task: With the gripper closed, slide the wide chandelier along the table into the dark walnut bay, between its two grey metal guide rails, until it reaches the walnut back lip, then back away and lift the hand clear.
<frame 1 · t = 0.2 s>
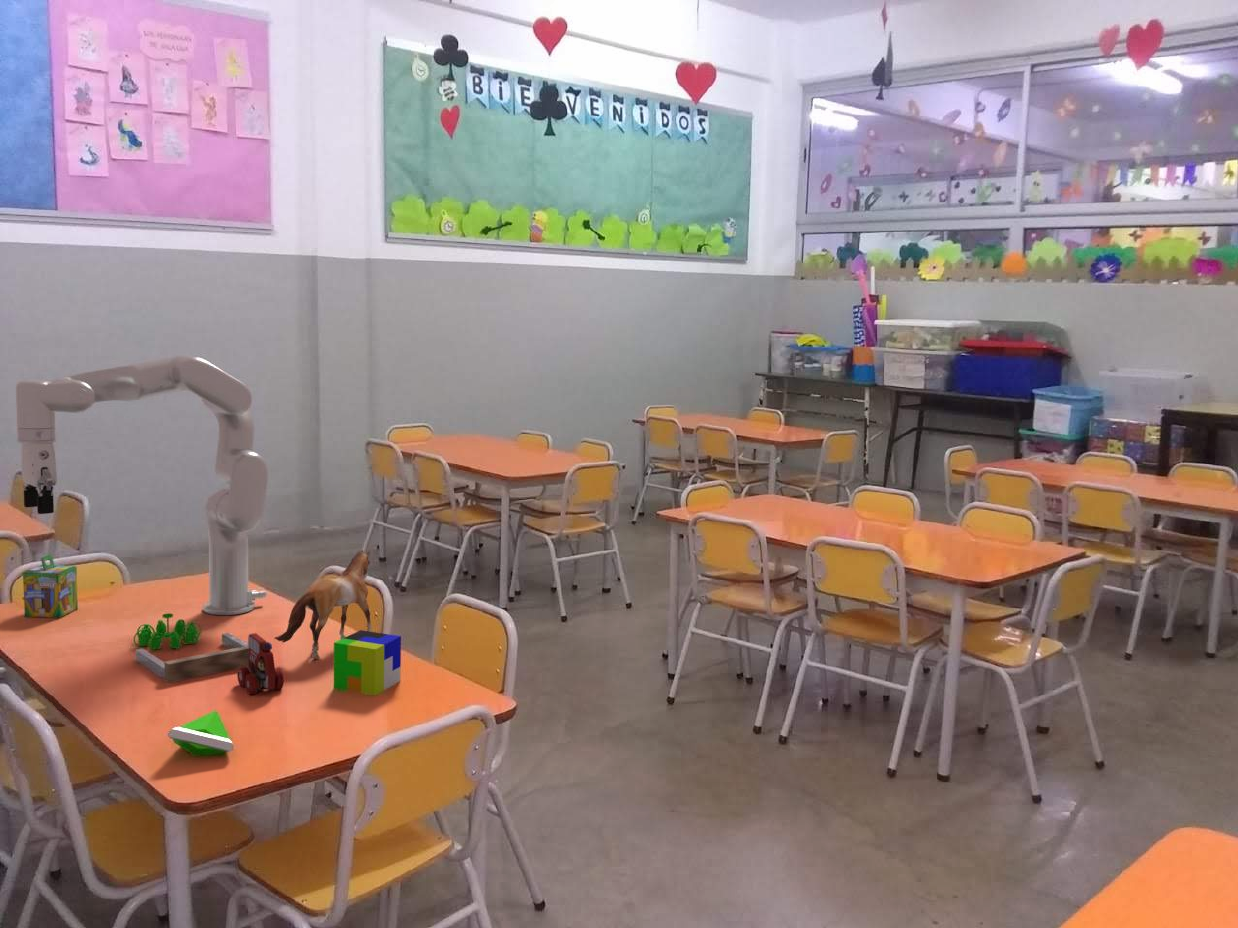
hand: (38, 510, 239), 31 cm above the table, tool pointing down, fingers open, 9 cm apart
puzzle toy: (367, 685, 223), on the table
walnut bay: (200, 661, 233), on the table
chalk box: (51, 613, 264), on the table
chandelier: (168, 644, 245), on the table
horse figurine: (324, 646, 247), on the table
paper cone: (199, 740, 192), on the table
toy fire truck: (260, 688, 219), on the table
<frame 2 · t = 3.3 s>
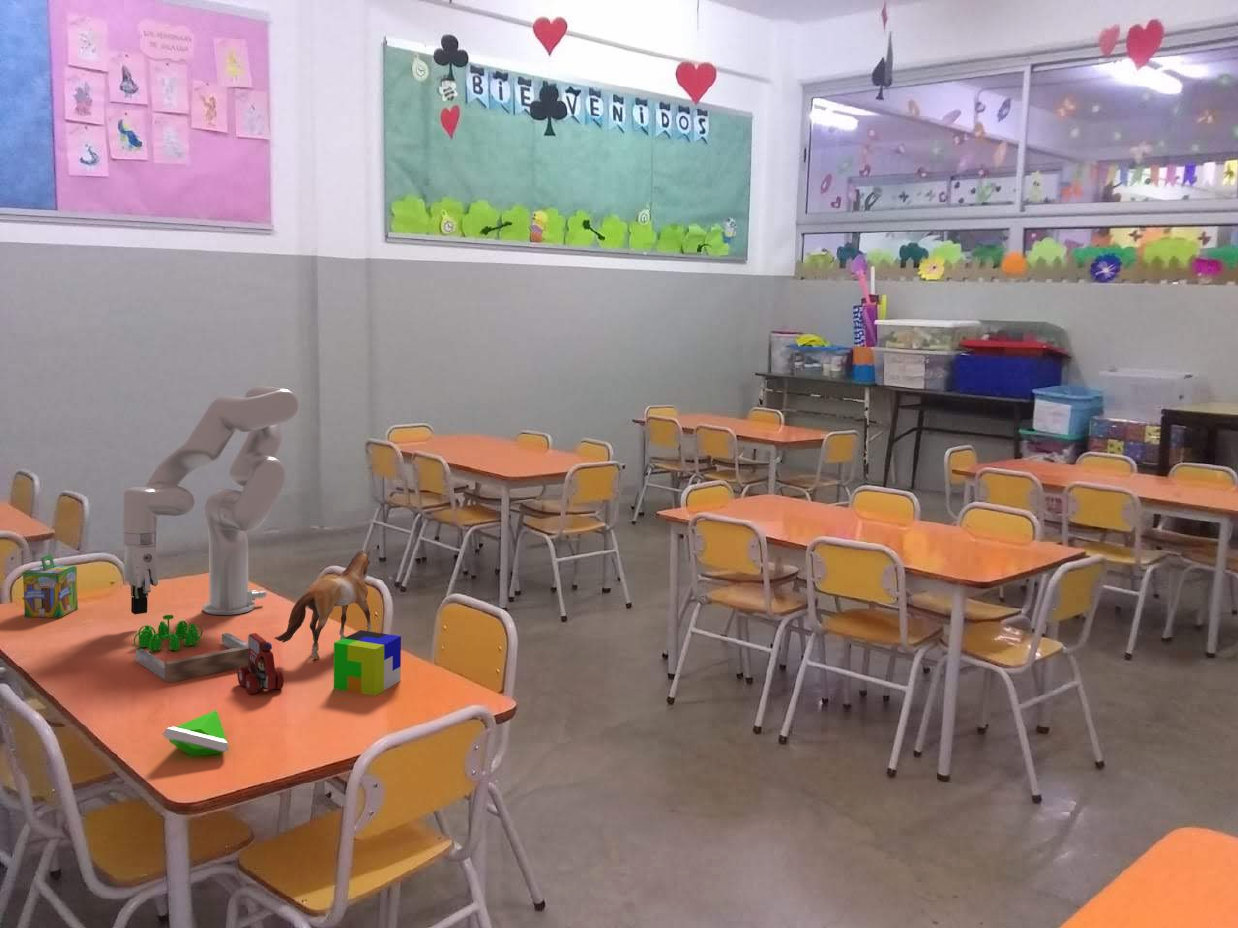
hand: (139, 612, 255), 4 cm above the table, tool pointing down, fingers closed
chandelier: (168, 645, 244), on the table
everything else where it was.
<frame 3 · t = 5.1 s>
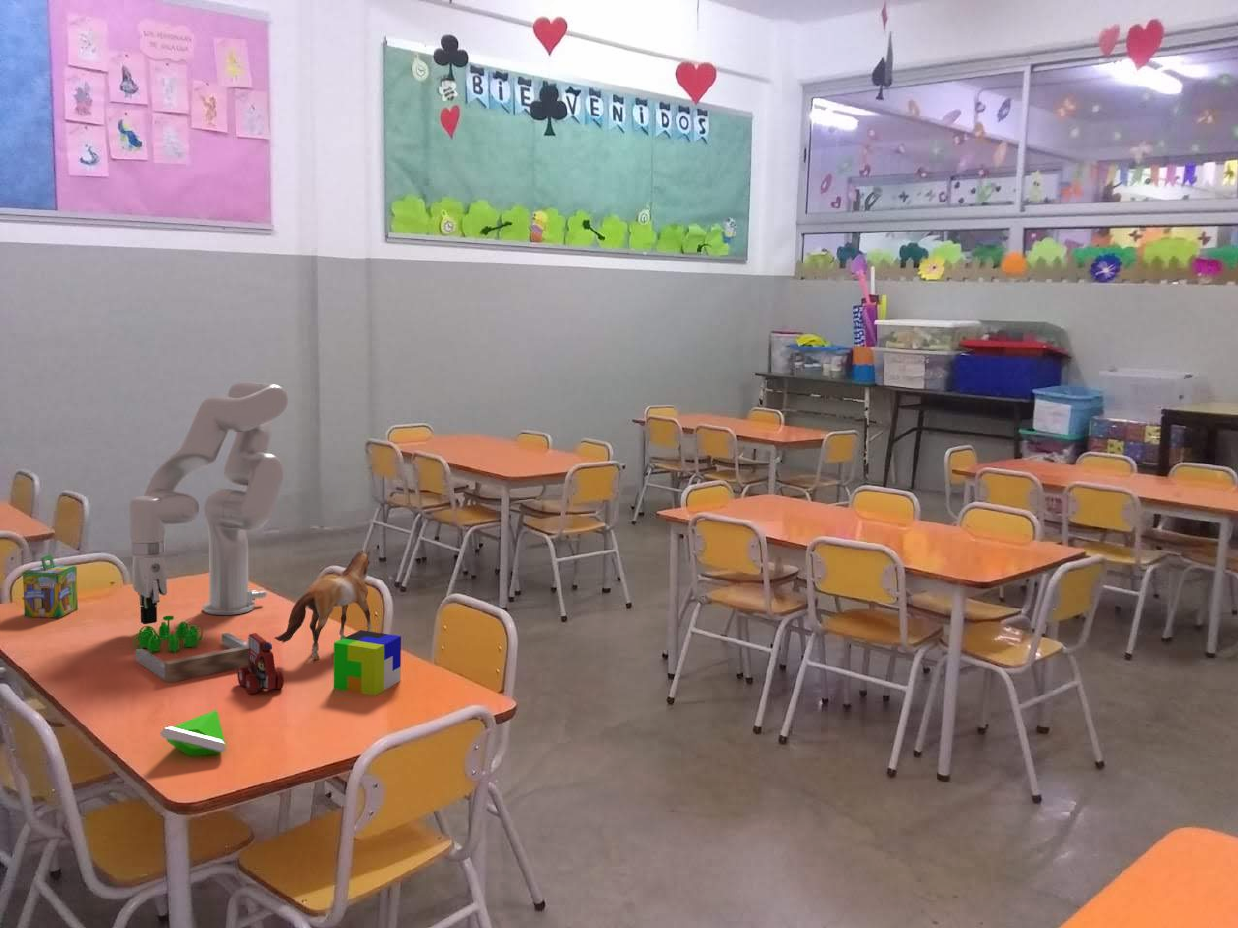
hand: (148, 622, 253), 2 cm above the table, tool pointing down, fingers closed
nothing on the table moved.
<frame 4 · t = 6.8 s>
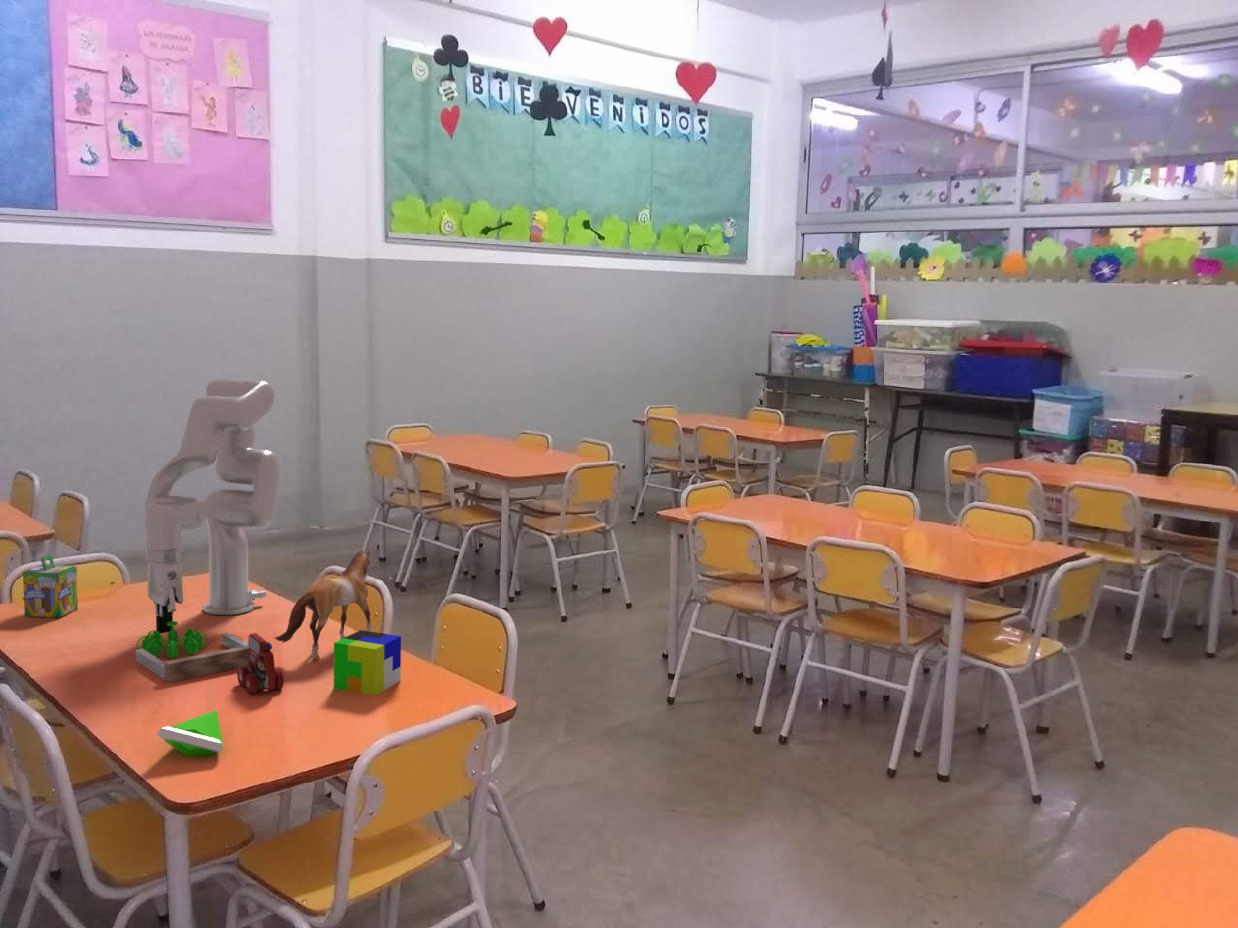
hand: (164, 631, 246), 2 cm above the table, tool pointing down, fingers closed
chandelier: (172, 652, 240), on the table
everything else where it was.
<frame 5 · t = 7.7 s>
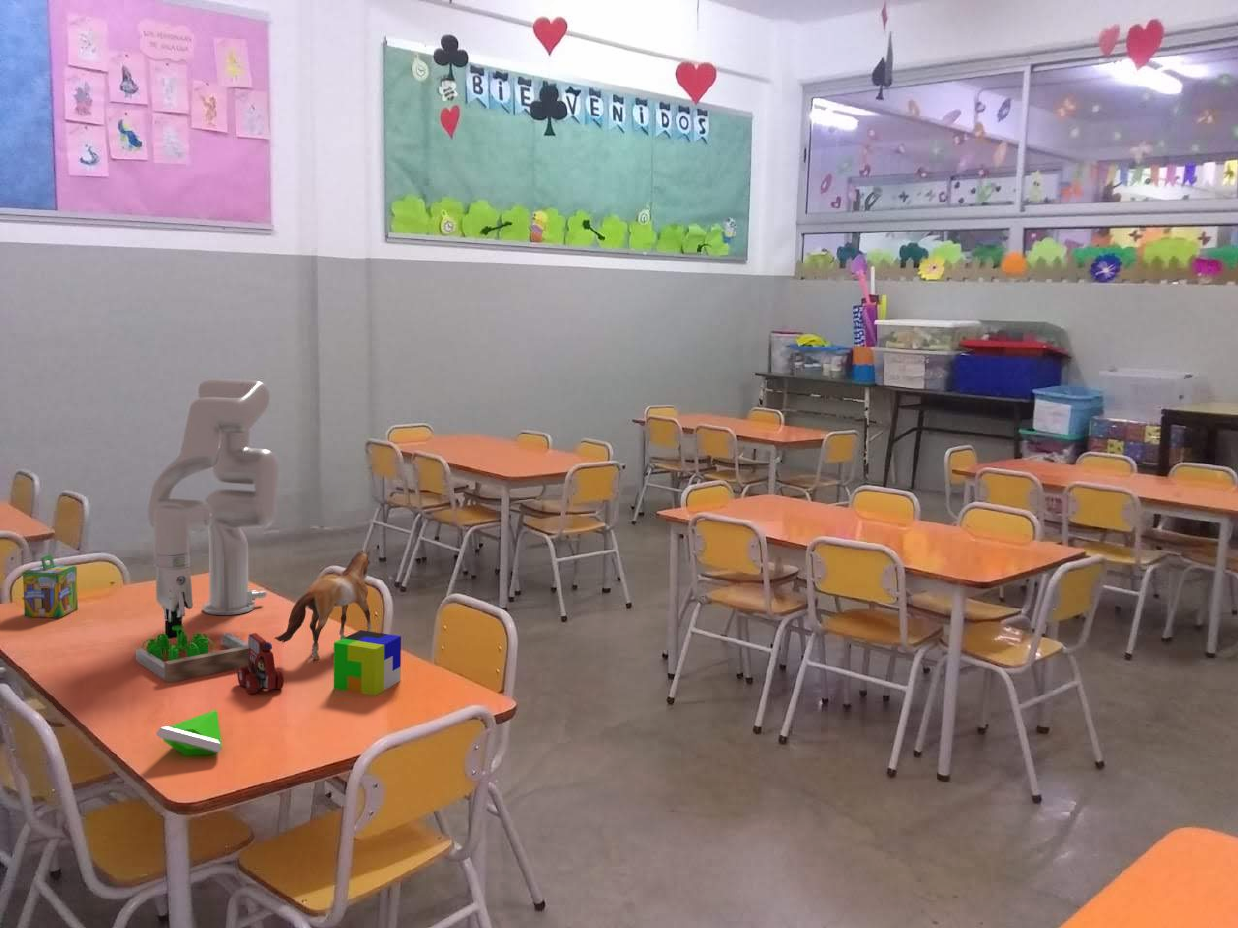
hand: (173, 636, 243), 2 cm above the table, tool pointing down, fingers closed
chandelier: (178, 657, 236), on the table
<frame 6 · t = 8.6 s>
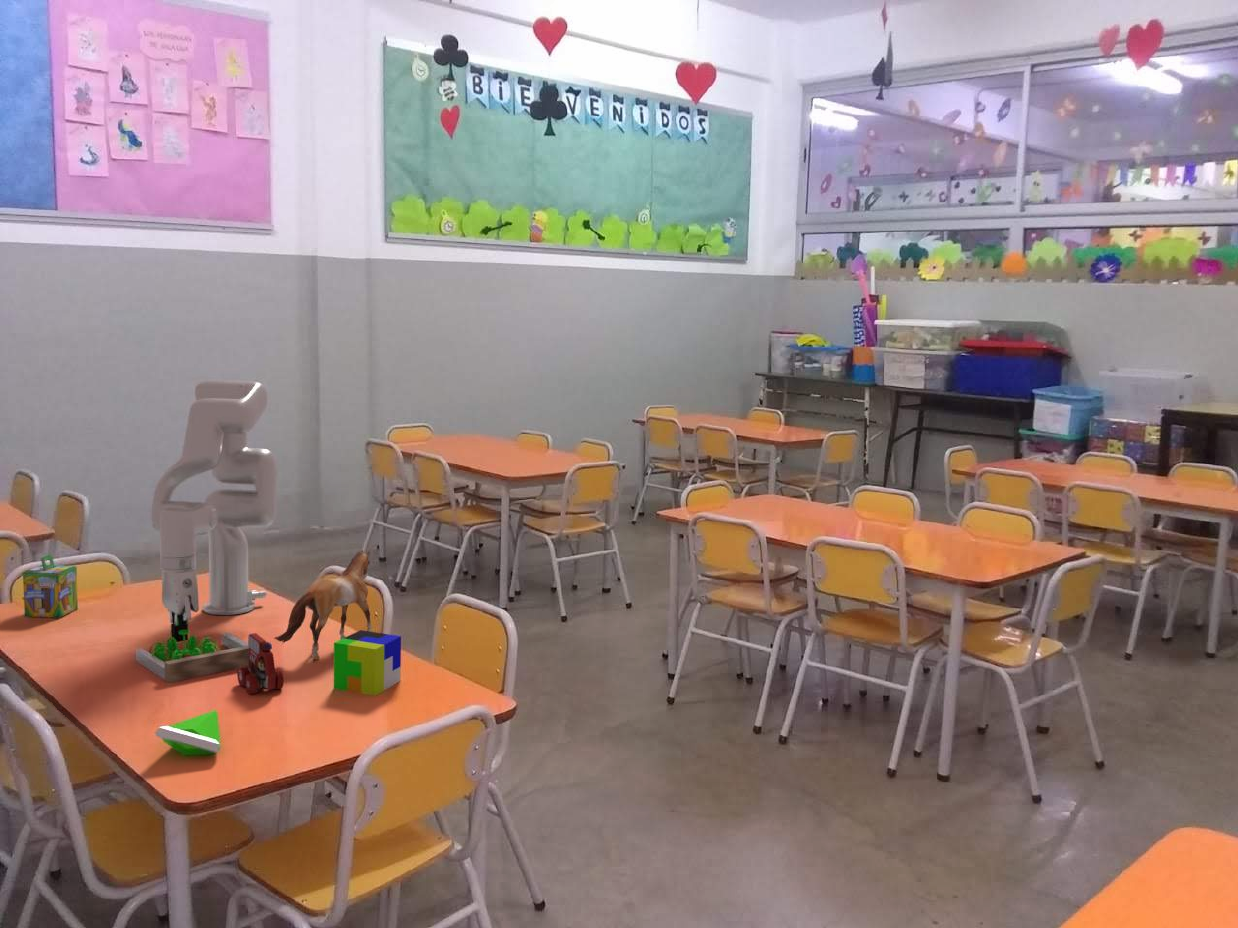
hand: (179, 640, 240), 2 cm above the table, tool pointing down, fingers closed
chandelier: (184, 662, 234), on the table, touching gripper, walnut bay
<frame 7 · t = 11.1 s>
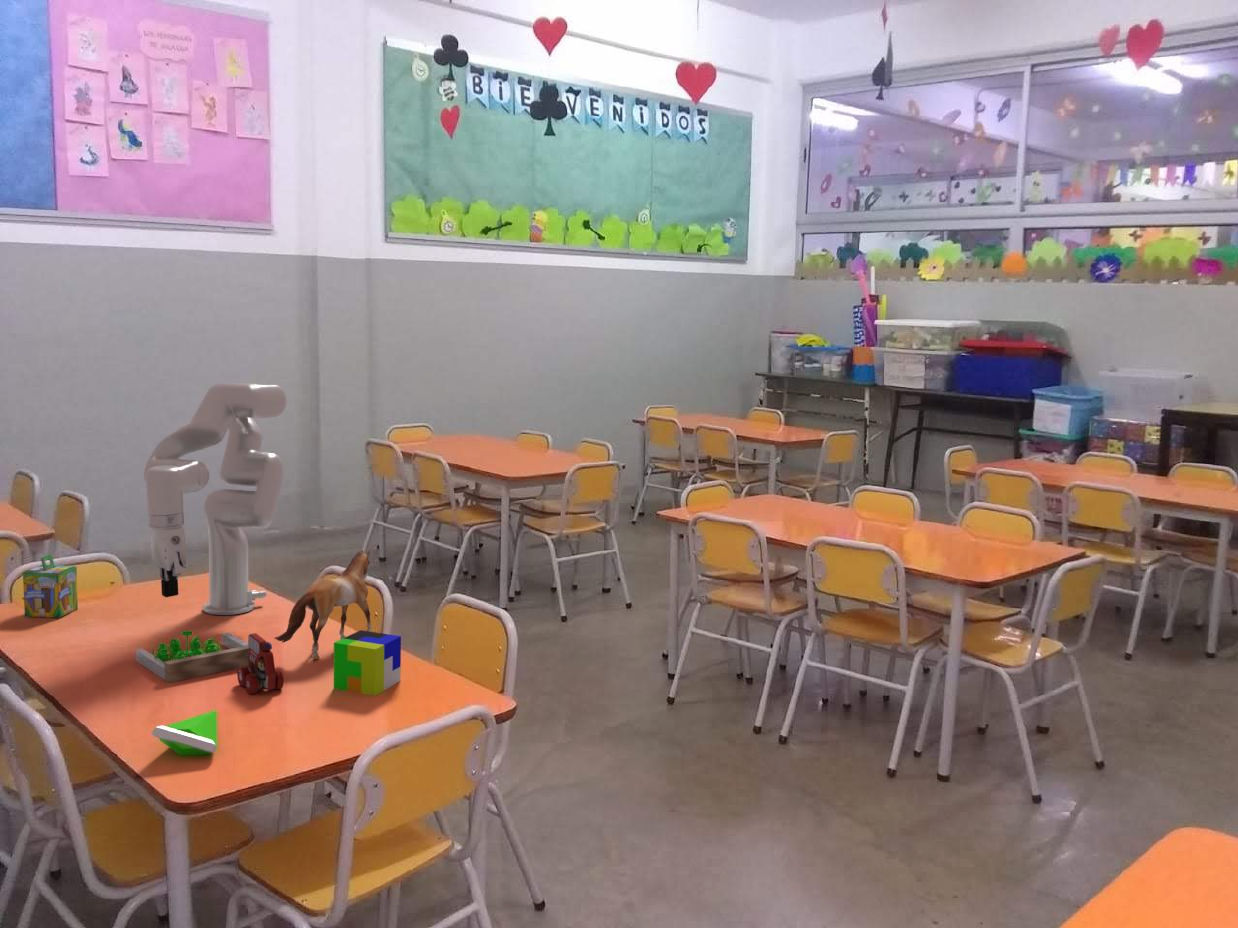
hand: (170, 595, 245), 11 cm above the table, tool pointing down, fingers closed
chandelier: (187, 663, 233), on the table
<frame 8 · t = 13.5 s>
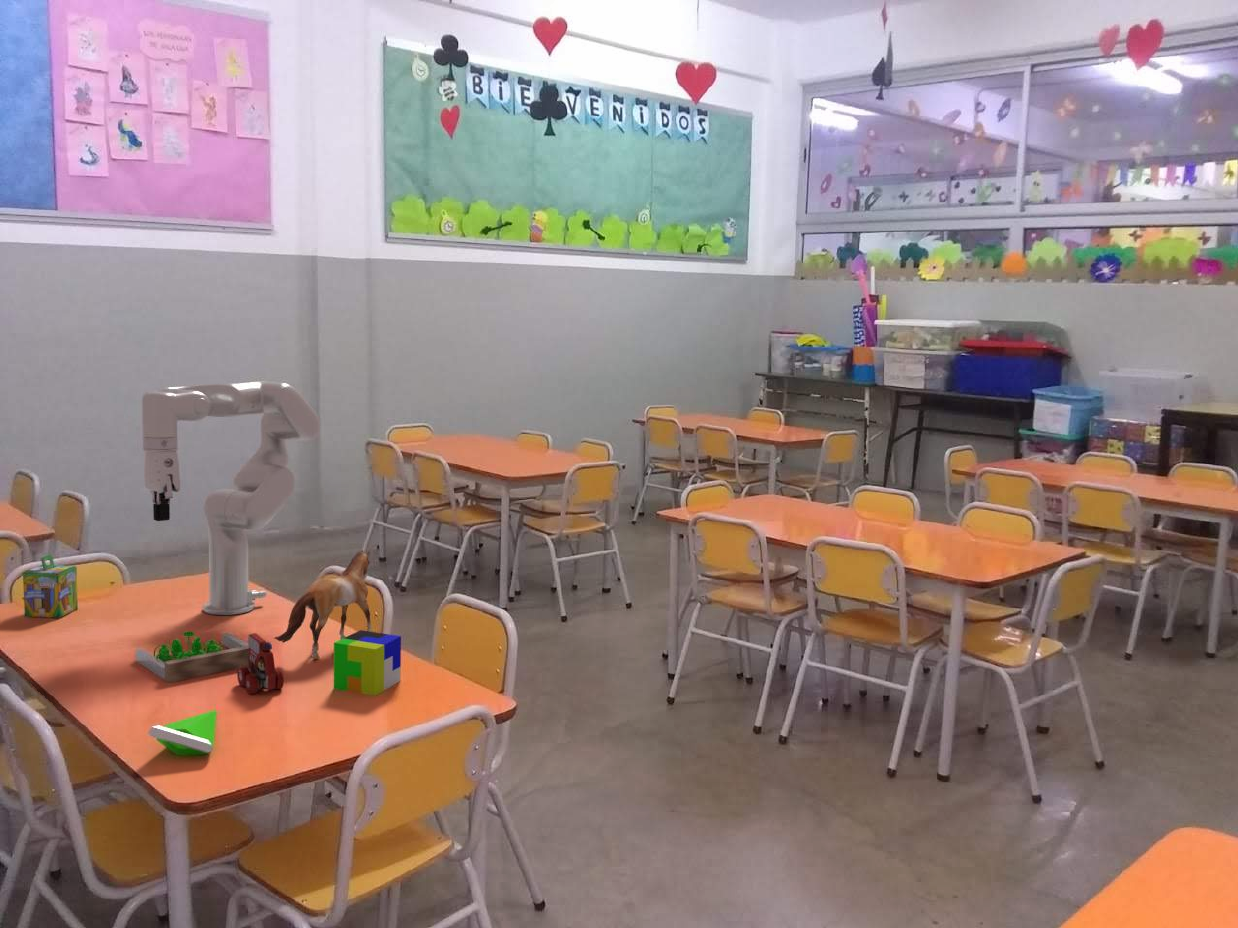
hand: (161, 519, 251), 27 cm above the table, tool pointing down, fingers closed
at the end: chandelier inside the target area on the walnut bay (2.0 cm from its centre), point -0.5 cm above the walnut bay's base; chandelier moved 16.8 cm from its start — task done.
